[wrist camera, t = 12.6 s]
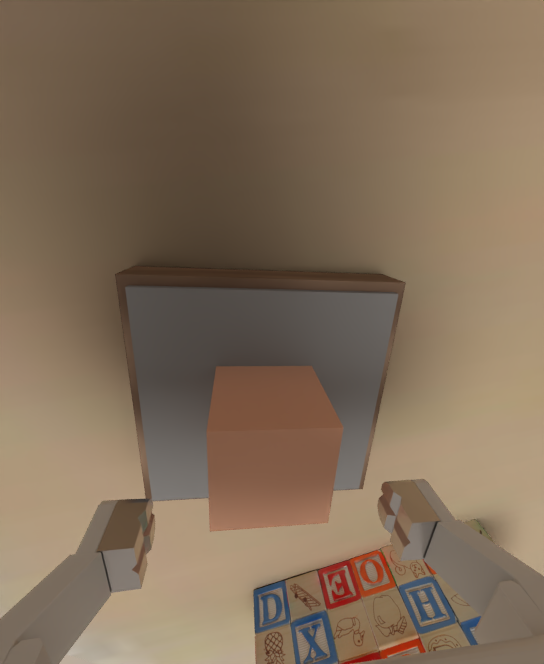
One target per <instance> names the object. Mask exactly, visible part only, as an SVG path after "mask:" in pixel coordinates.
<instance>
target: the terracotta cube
mask: <svg viewBox="0 0 544 664" xmlns="http://www.w3.org/2000/svg"><path fill="white" fill-rule="evenodd" d="M206 434H207V462H208V491H209V519H210V531H222V530H236V529H250V528H264V527H277V526H291V525H305V524H319V523H328V519H329V513H330V507H331V501H332V495H333V489H334V483H335V476H336V470H337V464H338V458H339V452H340V446H341V440H342V434H343V425H342V424H341V422H340V420H339V418H338V416H337V414H336V412H335V410H334V408H333V406H332V404H331V402H330V400H329V398H328V396H327V394H326V393H325V391H324V389H323V387H322V385H321V383H320V381H319V379H318V377H317V375H316V373H315V371H314V369H313V367H312V366H216V371H215V378H214V385H213V391H212V398H211V405H210V411H209V418H208V425H207V431H206Z"/></svg>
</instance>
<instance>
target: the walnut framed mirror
mask: <svg viewBox="0 0 544 664" xmlns="http://www.w3.org/2000/svg"><path fill="white" fill-rule="evenodd" d="M115 276H116V283H117V290H118V298H119V305H120V312H121V320H122V327H123V334H124V342H125V349H126V356H127V364H128V371H129V378H130V386H131V393H132V400H133V408H134V415H135V422H136V430H137V437H138V444H139V452H140V459H141V466H142V474H143V481H144V488H145V496H146V499H152V501H166V500H183V499H200V498H209V491H208V462H207V434H206V431H207V425H208V418H209V411H210V405H211V398H212V391H213V385H214V378H215V371H216V366H312V367H313V369H314V371H315V373H316V375H317V377H318V379H319V381H320V383H321V385H322V387H323V389H324V391H325V393H326V394H327V396H328V398H329V400H330V402H331V404H332V406H333V408H334V410H335V412H336V414H337V416H338V418H339V420H340V422H341V424H342V425H343V434H342V440H341V446H340V452H339V458H338V464H337V470H336V476H335V483H334V489H333V491H335V490H352V489H363V485H364V480H365V475H366V470H367V465H368V461H369V456H370V451H371V446H372V442H373V437H374V432H375V427H376V422H377V418H378V413H379V408H380V403H381V398H382V394H383V389H384V384H385V379H386V375H387V370H388V365H389V360H390V355H391V351H392V346H393V341H394V336H395V332H396V327H397V322H398V317H399V312H400V308H401V303H402V298H403V293H404V289H405V284H406V283H405V282H402V281H399V280H396V279H394V278H391V277H388V276H385V275H383V274H357V273H327V272H297V271H267V270H237V269H206V268H176V267H146V266H133V267H131V268H129V269H126V270H124V271H122V272H119V273H117V274H115Z"/></svg>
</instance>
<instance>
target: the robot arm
mask: <svg viewBox="0 0 544 664" xmlns="http://www.w3.org/2000/svg"><path fill="white" fill-rule="evenodd" d="M381 490H382V492H383V495H382V496H381V497H380V498H379V500H378V514H379V517H380V520H381V522H382V525H383V527H384V528H385V529H386V530H387V531H389V532H390V533H391V538H390V541H391V543H392V545H393V547H394V549H395V551H396V553H397V555H398V557H399V560H400V561H406V560H420V559H424V561H425V562H426V563H427V564H428V565H429V566H430V567H431V568H432V569H433V570H434V571H435V572H436V573H437V574H438V575H439V576H440V577H441V578H442V579H443V580H444V581H445V582H446V583H447V584H448V585H449V586H450V587H451V588H452V589H453V590H455V591H456V592H457V593H458V594H459V595H460V596H461V597H462V598H463V599H464V600H465V601H466V602H467V603H468V604H469V605H470V606H471V607H472V608H473V609H474V610H475V611H476V612H477V613H478V614H479V615H480V616H481V618H480V620H479V622H478V624H477V626H476V628H475V633H474V635H475V636H476V638H477V640H478V642H479V643H480V644H478V645H472V646H465V647H458V648H452V649H445V650H439V651H432V652H425V653H419V654H412V655H406V656H399V657H392V658H386V659H379V660H372V661H366V662H359V663H353V664H544V577H543V576H542V575H541V574H540V573H538V572H537V571H535V570H534V569H532V568H531V567H529V566H528V565H526V564H525V563H523V562H522V561H520V560H519V559H517V558H516V557H514V556H513V555H511V554H510V553H508V552H507V551H505V550H504V549H502V548H501V547H499V546H498V545H496V544H495V543H493V542H492V541H490V540H489V539H487V538H486V537H484V536H483V535H481V534H480V533H478V532H477V531H475V530H474V529H473V528H471V527H470V526H468V525H467V524H465V523H464V522H462V521H461V520H455V518H454V517H453V516H452V514H451V513H450V512H449V510H448V509H447V508H446V506H445V505H444V503H443V502H442V501H441V499H440V498H439V497H438V495H437V494H436V493H435V491H434V490H433V489H432V487H431V486H430V485H429V483H428V482H427V481H426V480H424V479H418V480H401V481H389V482H384V483H383V484H382V488H381ZM152 508H153V502H152V499H127V500H108V501H102V502H101V503H100V505H99V506H98V508H97V510H96V512H95V514H94V516H93V518H92V520H91V522H90V524H89V527H88V529H87V531H86V533H85V535H84V537H83V539H82V541H81V543H80V545H79V548H78V550H77V552H76V554H74V555H69V556H68V557H67V558H66V559H65V560H64V561H63V562H62V563H61V564H60V565H58V566H57V567H56V568H55V569H54V570H53V571H52V572H51V573H50V574H49V575H48V576H46V577H45V578H44V579H43V580H42V581H41V582H40V583H39V584H38V585H37V586H36V587H34V588H33V589H32V590H31V591H30V592H29V593H28V594H27V595H26V596H25V597H24V598H22V599H21V600H20V601H19V602H18V603H17V604H16V605H15V606H14V607H13V608H12V609H10V610H9V611H8V612H7V613H6V614H5V615H4V616H3V617H2V618H1V619H0V664H59V663H60V661H61V660H62V659H63V658H64V656H65V655H66V654H67V652H68V651H69V650H70V648H71V647H72V646H73V644H74V643H75V642H76V640H77V639H78V638H79V636H80V635H81V634H82V632H83V631H84V630H85V629H86V627H87V626H88V625H89V623H90V622H91V621H92V619H93V618H94V617H95V615H96V614H97V613H98V611H99V610H100V609H101V607H102V606H103V605H104V603H105V602H106V601H107V599H108V598H109V597H110V596H111V593H113V592H120V591H127V590H134V589H141V587H142V583H143V580H144V576H145V572H146V568H147V557H146V554H147V553H148V552H149V551H150V550H151V548H152V544H153V540H154V533H155V516H154V515H153V514H152V513H151V512H152Z"/></svg>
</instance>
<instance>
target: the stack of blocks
mask: <svg viewBox="0 0 544 664" xmlns="http://www.w3.org/2000/svg"><path fill="white" fill-rule="evenodd" d="M465 524H467V525H468V526H470V527H471V528H473V529H474V530H475V531H477V532H478V533H480V534H481V535H483V536H484V537H486V538H487V539H489V540H490V541H492V542H493V540H492V539H491V538H490V537H489V535H488V534H487V533H486V532H485V530H484V529H483V528H482V527H481V526H480V524H479V523H478V522H477V521H476V520H471V521H468V522H465ZM493 543H494V542H493ZM480 618H481V616H480V615H479V614H478V613H477V612H476V611H475V610H474V609H473V608H472V607H471V606H470V605H469V604H468V603H467V602H466V601H465V600H464V599H463V598H462V597H461V596H460V595H459V594H458V593H457V592H456V591H455V590H453V589H452V588H451V587H450V586H449V585H448V584H447V583H446V582H445V581H444V580H443V579H442V578H441V577H440V576H439V575H438V574H437V573H436V572H435V571H434V570H433V569H432V568H431V567H430V566H429V565H428V564H427V563H426V562H425V561H424V559H420V560H406V561H400V560H399V557H398V555H397V553H396V551H395V549H394V547H393V545H389V546H386V547H383V548H381V549H380V550H377V551H373V552H371V553H368V554H365V555H361V556H359V557H355V558H352V559H350V560H348V561H344V562H341V563H338V564H334V565H331V566H328V567H326V568H322V569H320V570H318V571H317V570H315V571H312V572H309V573H306V574H303V575H300V576H297V577H294V578H291V579H288V580H285V581H281V582H278V583H274V584H271V585H268V586H265V587H263V588H259V589H256V590H254V621H255V654H256V664H353V663H359V662H366V661H372V660H379V659H386V658H392V657H399V656H406V655H412V654H419V653H425V652H432V651H439V650H445V649H452V648H458V647H465V646H472V645H478V644H480V643H479V642H478V640H477V638H476V636H475V635H474V633H475V628H476V626H477V624H478V622H479V620H480Z"/></svg>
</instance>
